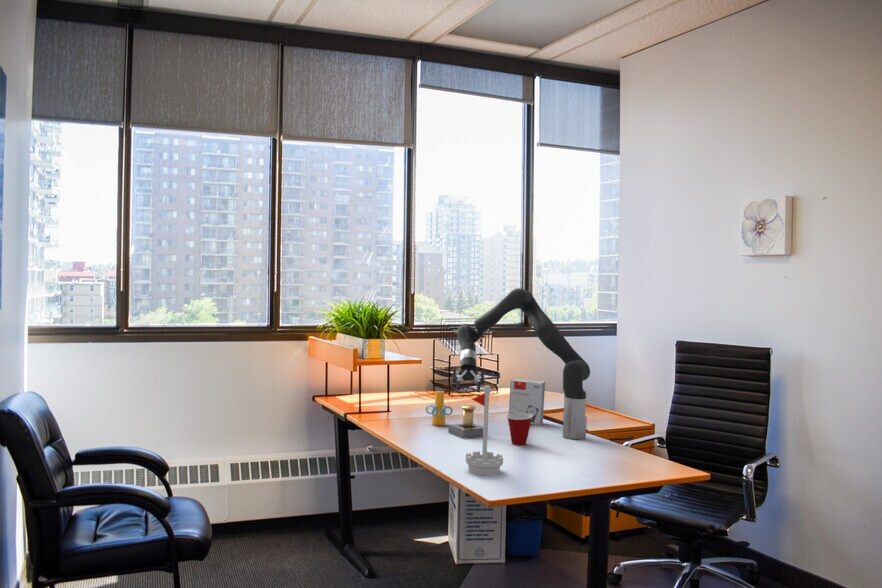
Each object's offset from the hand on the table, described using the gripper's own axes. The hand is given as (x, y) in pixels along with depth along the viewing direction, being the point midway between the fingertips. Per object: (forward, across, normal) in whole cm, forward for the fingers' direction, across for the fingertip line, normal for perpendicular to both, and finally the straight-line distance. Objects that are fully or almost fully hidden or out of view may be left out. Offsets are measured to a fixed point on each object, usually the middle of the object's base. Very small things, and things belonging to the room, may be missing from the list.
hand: (468, 390), depth 326 cm
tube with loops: (+6, -12, +19) cm, 24 cm away
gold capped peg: (+20, 0, +5) cm, 20 cm away
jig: (+20, 0, +5) cm, 20 cm away
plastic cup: (+30, +20, -5) cm, 37 cm away
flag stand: (+62, +3, -37) cm, 72 cm away
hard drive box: (-3, +29, +28) cm, 40 cm away
